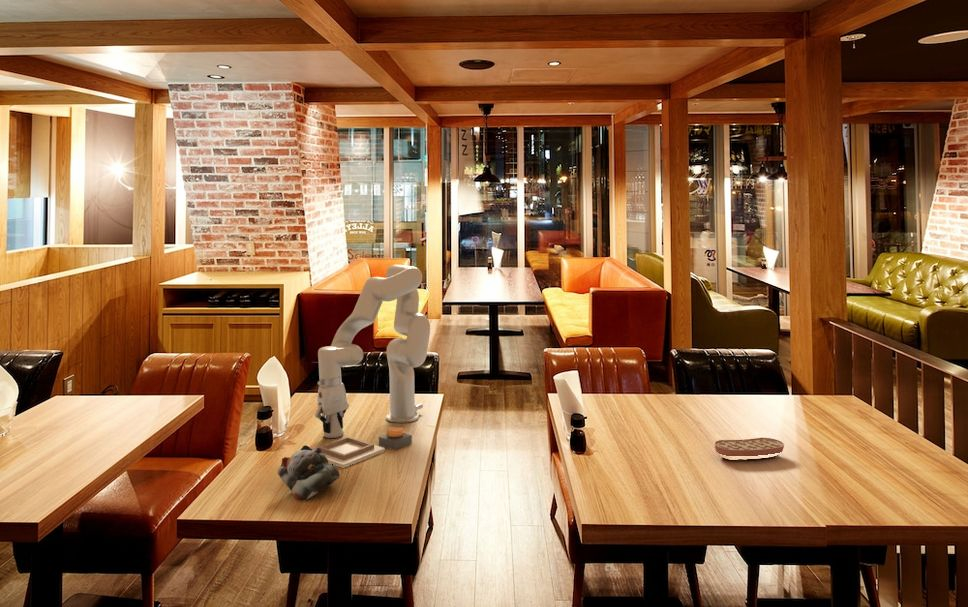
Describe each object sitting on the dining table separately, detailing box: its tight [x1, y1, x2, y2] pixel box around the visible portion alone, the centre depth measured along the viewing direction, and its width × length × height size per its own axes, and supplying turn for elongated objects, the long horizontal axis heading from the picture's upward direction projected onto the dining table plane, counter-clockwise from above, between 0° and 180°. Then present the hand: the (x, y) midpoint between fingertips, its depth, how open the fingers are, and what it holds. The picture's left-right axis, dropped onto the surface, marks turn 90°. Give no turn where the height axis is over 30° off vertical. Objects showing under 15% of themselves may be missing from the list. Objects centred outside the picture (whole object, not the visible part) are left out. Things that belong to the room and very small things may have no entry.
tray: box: [318, 436, 386, 469], centre depth 213 cm, size 18×18×3 cm
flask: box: [323, 413, 345, 439], centre depth 230 cm, size 7×7×10 cm
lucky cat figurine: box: [276, 444, 341, 501], centre depth 184 cm, size 15×12×14 cm
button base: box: [378, 432, 413, 451], centre depth 222 cm, size 8×8×3 cm
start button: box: [385, 426, 405, 438], centre depth 221 cm, size 6×6×4 cm
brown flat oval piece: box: [714, 437, 785, 456], centre depth 209 cm, size 23×10×5 cm, turn 99°
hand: (333, 429), depth 230 cm, fingers closed on flask, 4 cm apart
